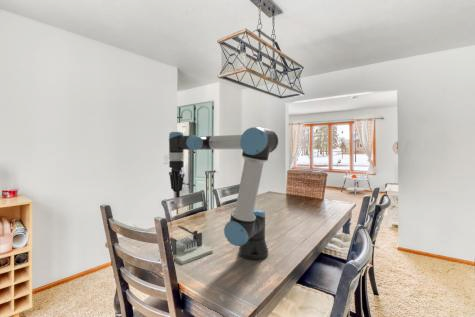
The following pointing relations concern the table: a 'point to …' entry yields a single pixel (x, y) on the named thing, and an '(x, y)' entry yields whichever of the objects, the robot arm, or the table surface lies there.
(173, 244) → the mounts
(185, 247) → the heatsink
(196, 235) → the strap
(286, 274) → the table surface
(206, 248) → the board
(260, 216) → the robot arm
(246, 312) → the table surface
